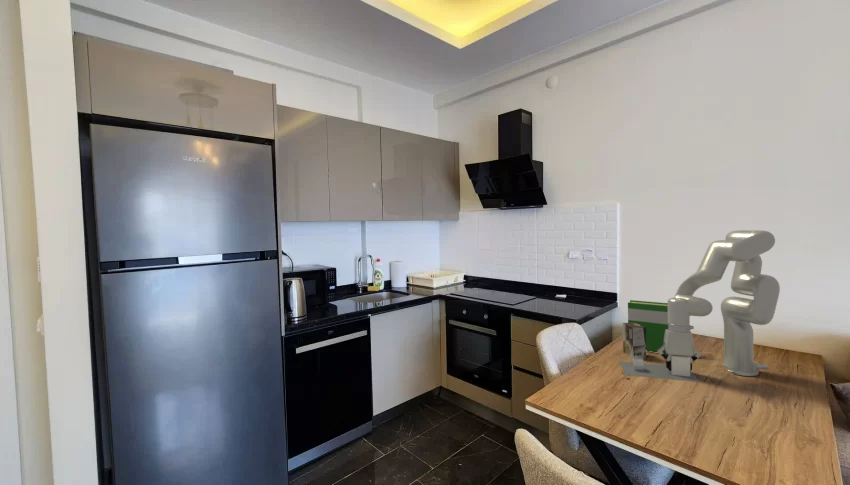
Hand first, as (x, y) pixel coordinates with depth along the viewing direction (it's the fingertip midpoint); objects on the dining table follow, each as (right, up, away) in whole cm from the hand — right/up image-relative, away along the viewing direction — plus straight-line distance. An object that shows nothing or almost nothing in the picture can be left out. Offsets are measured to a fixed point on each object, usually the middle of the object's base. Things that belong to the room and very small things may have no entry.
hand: (678, 370), depth 151 cm
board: (-7, -3, +3) cm, 8 cm away
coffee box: (-5, -2, +22) cm, 23 cm away
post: (-14, -1, +5) cm, 15 cm away
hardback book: (+8, -1, +33) cm, 34 cm away
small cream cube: (0, -1, 0) cm, 1 cm away
